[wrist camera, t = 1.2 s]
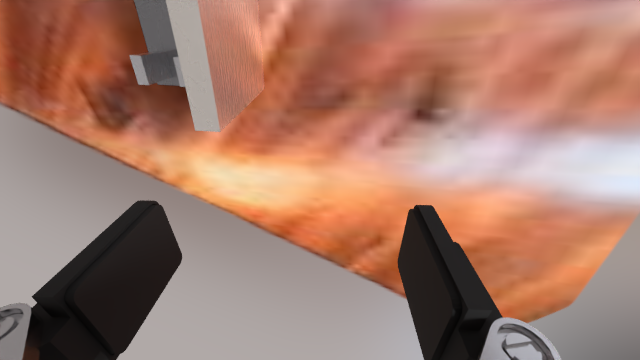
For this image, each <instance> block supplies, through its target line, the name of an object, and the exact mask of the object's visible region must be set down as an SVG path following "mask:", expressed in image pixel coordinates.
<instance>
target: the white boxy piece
mask: <svg viewBox="0 0 640 360" xmlns="http://www.w3.org/2000/svg"><path fill="white" fill-rule="evenodd" d="M134 2H135V6H136V9H137V13H138V16H139V20H140V24H141V27H142V31H143V34H144V38H145V41H146V45H147V48H148V52H147V53H140V54H134V55H129V56H130V59H131V62H132V65H133V69H134V72H135V75H136V78H137V81H138V84H139V85H151V84H154V83H157V84H158V85H176V86H180V87H186V92H187V96H188V100H189V105H190V109H191V114H192V118H193V122H194V127H195V131H215V132H221V131H222V130H223V129H224V128H225V127H226V126H227V125H228V124H229V123H230V122H231V121H232V120H233V119H234V118H235V117H236V116H237V115H238V114H239V113H240V112H241V111H242V110H243V109H244V108H245V107H246V106H247V105H248V104H249V103H250V102H252V101H253V100H254V99H255V98H256V97H257V96H258V95H259V94H260V93H261V92H262V91H263V90H264V89H265V86H264V72H263V58H262V44H261V30H260V17H259V3H258V0H134Z"/></svg>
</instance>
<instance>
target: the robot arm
mask: <svg viewBox="0 0 640 360" xmlns="http://www.w3.org/2000/svg"><path fill="white" fill-rule="evenodd" d="M181 260H182V253H181V251H180V248H179V246H178V243H177V241H176V238H175V236H174V233H173V231H172V229H171V226H170V224H169V221H168V219H167V216H166V214H165V211H164V209H163V207H162V206H161V205H159V204H158V202H156V201H137V202H136V203H134V204H133V205H132V206H131V207H130V208H129V209H128V210H127V211H125V212H124V213H123V214H122V215H121V216H120V217H119V218H118V219H117V220H116V221H115V222H113V223H112V224H111V225H110V226H109V227H108V228H107V229H106V230H105V231H104V232H102V233H101V234H100V235H99V236H98V237H97V238H96V239H95V240H94V241H92V242H91V243H90V244H89V245H88V246H87V247H86V248H85V249H84V250H83V251H81V253H79V254H78V255H77V256H76V257H75V258H74V259H73V260H72V261H70V262H69V263H68V264H67V265H66V266H65V267H64V268H63V269H62V270H61V271H60V272H58V273H57V274H56V275H55V276H54V277H53V278H52V279H51V280H50V281H48V282H47V283H46V284H45V285H44V286H43V287H42V288H41V289H40V290H39V291H38V292H36V293H35V294H34V295H33V296H32V297H33V299H34V300H35V301H36V302H37V304H36V305H35V306H34V307H33V308H31V307H30V306H29V305H27V304H24V303H16V304H10V305H7V306H4V307H1V308H0V360H116V359H117V357H118V356H119V354H121V353H123V352H124V351H125V350H126V349H127V347H128V346H129V344H130V343H131V341H132V339H133V338H134V336H135V335H136V333H137V332H138V330H139V328H140V327H141V325H142V324H143V322H144V320H145V319H146V317H147V315H148V314H149V312H150V311H151V309H152V308H153V306H154V304H155V303H156V301H157V300H158V298H159V297H160V295H161V293H162V292H163V290H164V289H165V287H166V285H167V284H168V282H169V281H170V279H171V277H172V275H173V274H174V273H175V271H176V269H177V268H178V266H179V265H180V263H181ZM398 268H399V272H400V276H401V279H402V283H403V286H404V290H405V293H406V297H407V300H408V303H409V308H410V311H411V315H412V318H413V322H414V325H415V329H416V332H417V336H418V339H419V343H420V346H421V350H422V354H423V357H424V360H561V358H560V356H559V354H558V351H557V350H556V348H555V347H554V346H553V345H552V344H551V342H550V341H549V340H548V339H547V338H546V337H545V336H544V335H543V334H542V333H541V332H540V331H538V330H537V329H535V328H534V327H532V326H531V325H529V324H527V323H525V322H522V321H520V320H518V319H513V318H503V317H502V315H501V314H500V312H499V310H498V309H497V307H496V305H495V304H494V302H493V300H492V298H491V297H490V295H489V293H488V292H487V290H486V288H485V287H484V285H483V283H482V282H481V280H480V278H479V276H478V275H477V273H476V271H475V270H474V268H473V266H472V265H471V263H470V261H469V260H468V258H467V256H466V255H465V253H464V251H463V249H462V248H461V246H460V245H459V244H458V243H456V242H453V241H452V239H451V237H450V235H449V234H448V232H447V230H446V228H445V227H444V225H443V223H442V221H441V219H440V218H439V216H438V214H437V212H436V211H435V209H434V207H433V206H431V205H416V206H415V207H414V209H410V210H409V212H408V217H407V221H406V225H405V230H404V234H403V239H402V243H401V248H400V252H399V257H398Z"/></svg>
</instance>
